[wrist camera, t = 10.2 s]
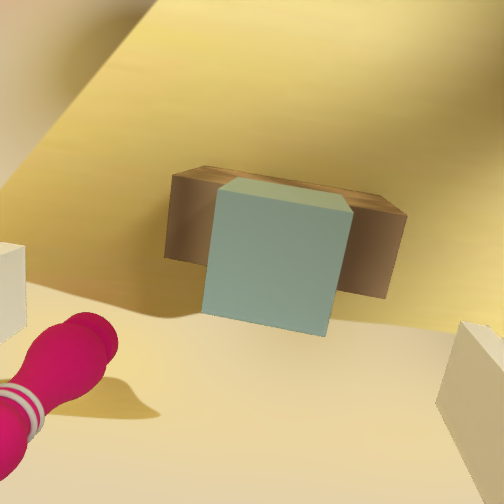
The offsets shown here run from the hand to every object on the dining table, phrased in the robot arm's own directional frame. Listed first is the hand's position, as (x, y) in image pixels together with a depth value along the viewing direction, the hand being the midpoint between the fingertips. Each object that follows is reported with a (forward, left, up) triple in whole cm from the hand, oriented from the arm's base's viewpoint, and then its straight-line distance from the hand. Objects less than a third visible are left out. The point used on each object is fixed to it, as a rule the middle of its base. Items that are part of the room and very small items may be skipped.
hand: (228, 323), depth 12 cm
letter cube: (-1, +1, -17) cm, 17 cm away
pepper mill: (+17, +18, -27) cm, 37 cm away
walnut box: (-1, +1, -27) cm, 27 cm away
